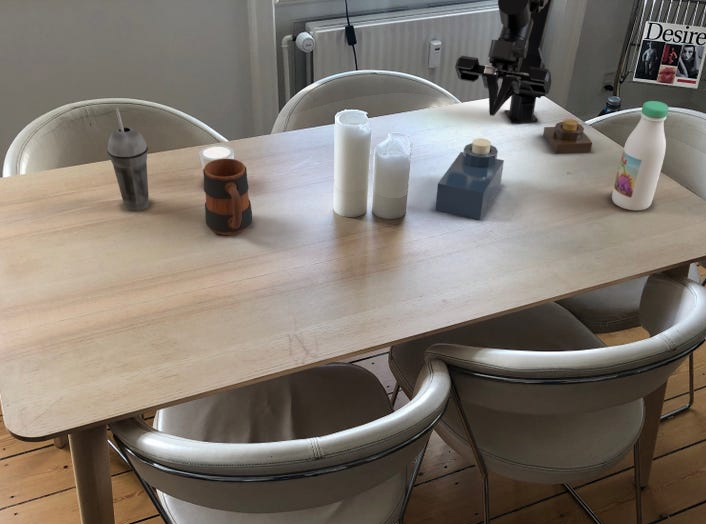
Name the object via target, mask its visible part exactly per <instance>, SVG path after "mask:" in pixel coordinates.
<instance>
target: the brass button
mask: <svg viewBox="0 0 706 524" xmlns="http://www.w3.org/2000/svg"><path fill="white" fill-rule="evenodd" d="M562 122H563V125H562V129H564V130H568V131H575V130H577V125H578V124H579V121H578V120H577V119H574V118H564V119H563V120H562Z"/></svg>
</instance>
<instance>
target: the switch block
mask: <svg viewBox="0 0 706 524" xmlns="http://www.w3.org/2000/svg"><path fill="white" fill-rule="evenodd" d="M562 125H563V121H560V122H556V123H555V125H554V126H544V127H543V133H542V137H543V138H544V140H545V141H546V143H547V144H548V146H549V147H550V148H551V149H552V151H553V152H554V154H556V155H557V154H578V153H579V154H580V153H591V152H592V148H593V142H592V140H591V139H590V138H589V137H588V136H587V134H586V133H585V132H584V131H585V128H584V126H583V125H582V124H580V123H578V125H577V130H575V131H568V130H564V129H562Z"/></svg>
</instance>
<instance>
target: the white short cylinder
mask: <svg viewBox="0 0 706 524" xmlns="http://www.w3.org/2000/svg"><path fill="white" fill-rule="evenodd" d="M471 143H472V152H473V153H475V154H480V155H481V154H489V153H490V147H491V145H492V142H491V141H490V140H489V139H487V138H484V137H483V138H482V137H480V138H474V139H473V140H472V142H471Z"/></svg>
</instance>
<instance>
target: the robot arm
mask: <svg viewBox="0 0 706 524" xmlns="http://www.w3.org/2000/svg"><path fill="white" fill-rule="evenodd" d="M554 1H555V0H497V5H498V6H497V7H498V11H499V16H500V22H501V25H502V27H501V31H500V33H499V37H498V38H497V39H491V42H490V47H489V52H488V58H489V59H488V62H489V64H490V65H487V64H485V65H482V64H480V61H479V58H478V57H474V56H469V55H460V56H459V57H458V58H457V59H456V63H455V66H454V68H455V72H456V75H457V78H458V79H459V80H460V81H465V82H470V83H475V82H477V81H478V80H479V78H480V77H481V80H482V84H483V87H484V88H485V89H487V90H488V110H489V111H488V112H489V113H488V114H489V116H490V117H495V115H496V114H497V113H498V112H499V110H501V108H502V107H503V106H504V104H505V103H506V102H508V100H509V99H510V103H509V109H505V110H503V113H504V115H505V116H506V118H507V120H509V122H510V123H511V124H525V123H538V122H539V119H538V118H537V116H536V115H535V108H536V101H537V98H538V99H541V98H542V97H545V96H546V95H548V94H549V93H550V90H551V85H552V73H551V71H550V69H549V68H546V64H545V61H544V58H543V54H542V50H543V46H544V43H545V38H546V35H547V34H546V33H547V30H548V25H549V21H550V17H551V13H552V9H553V5H554ZM499 80H502V81H501V85H500V86H499Z"/></svg>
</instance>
